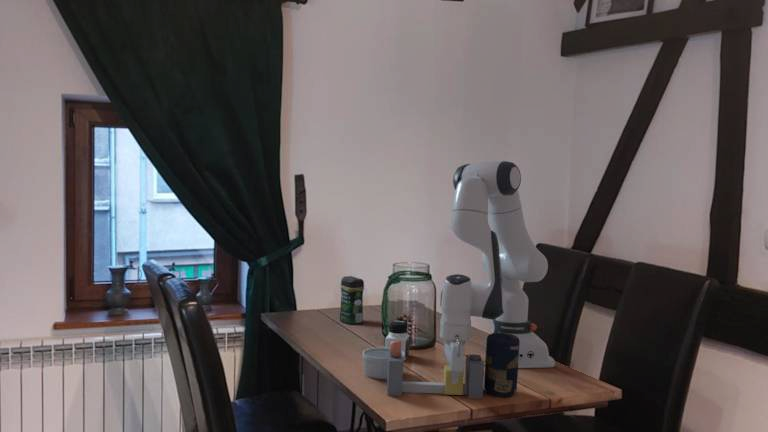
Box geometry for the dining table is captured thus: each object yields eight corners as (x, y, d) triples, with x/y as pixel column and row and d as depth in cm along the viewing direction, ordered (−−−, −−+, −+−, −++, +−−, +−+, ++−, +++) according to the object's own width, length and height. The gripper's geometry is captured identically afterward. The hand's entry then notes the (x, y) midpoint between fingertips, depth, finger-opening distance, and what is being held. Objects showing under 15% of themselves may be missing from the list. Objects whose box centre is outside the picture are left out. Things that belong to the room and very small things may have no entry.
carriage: (460, 388, 208) (461, 365, 208) (462, 394, 203) (463, 371, 202) (443, 387, 208) (444, 365, 208) (445, 394, 203) (446, 371, 202)
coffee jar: (336, 320, 289) (337, 275, 287) (352, 318, 294) (353, 274, 292) (349, 325, 281) (351, 279, 280) (365, 323, 286) (367, 278, 285)
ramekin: (375, 365, 229) (376, 344, 228) (411, 373, 222) (412, 351, 222) (353, 375, 218) (354, 353, 217) (390, 384, 211) (391, 361, 210)
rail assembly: (477, 388, 210) (479, 351, 209) (482, 398, 201) (484, 360, 200) (387, 385, 210) (388, 348, 209) (387, 395, 201) (389, 357, 200)
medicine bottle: (405, 360, 236) (407, 325, 235) (384, 358, 237) (385, 323, 236) (409, 355, 243) (410, 320, 242) (388, 353, 244) (390, 318, 243)
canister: (498, 385, 213) (501, 326, 212) (523, 394, 206) (526, 333, 205) (476, 391, 207) (480, 331, 206) (502, 400, 200) (505, 338, 199)
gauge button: (400, 354, 206) (401, 340, 206) (401, 357, 203) (402, 343, 202) (390, 353, 206) (390, 340, 206) (390, 356, 203) (390, 343, 202)
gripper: (471, 341, 194) (468, 390, 195) (461, 324, 214) (459, 368, 215) (448, 340, 194) (445, 390, 195) (441, 323, 214) (438, 368, 215)
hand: (452, 378), depth 205 cm, fingers open, 7 cm apart
